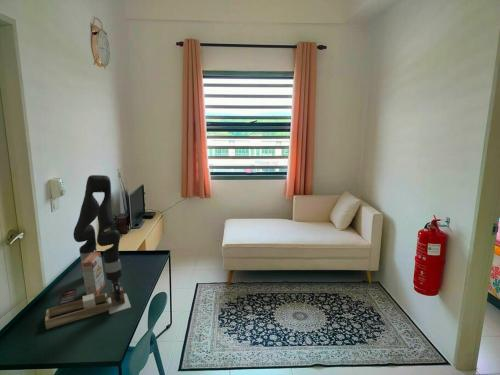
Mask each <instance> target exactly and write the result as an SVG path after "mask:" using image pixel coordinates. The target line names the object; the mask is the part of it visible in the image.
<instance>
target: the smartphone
mask: <svg viewBox="0 0 500 375" xmlns="http://www.w3.org/2000/svg"><path fill="white" fill-rule="evenodd" d="M77 292H78V288H76V289H70V290H66V291H63V292H62V293H61V296H60V299H59V301H58V306H60V305H64V304H67V303H71V302H75V301H76V296H77Z"/></svg>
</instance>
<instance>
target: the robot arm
mask: <svg viewBox="0 0 500 375" xmlns="http://www.w3.org/2000/svg"><path fill="white" fill-rule="evenodd" d="M95 193H103V194H104V195H103V200H102V202H101V203H100V204H99V202H98V200H97V199H96V198H95V196H94V194H95ZM96 218H97V222H98V230H97V236H96V230H95V228H94V226H93V224H92V223H93V222H94V221H95V220H96ZM114 225H115V222H114V215H113V209H112V185H111V179H110V177H109V176H108V175H101V174H97V175H96V174H90V175H89V176H88V177H87V180H86V185H85V192H84V196H83V201H82V204H81V207H80V213H79V216H78V219H77V222H76V225H75V227H74V229H73V234H72V235H73V239H74V241H75V242H77V243H83V242H85V243H84V244H82V245H81V246H80V247H79V256H80V261H81V263H82V262H83V261H84V260H85V259H86V258H87V256H88V255H89V254H90V253H97V252H98V250H97V244H98V246H100V247H107V246H110V245H111V247H109V248H106V249H105V250H104V251H102V254H103V261H104V271H105V272H104V273H105V277H106V280H108V281H110V284H111V289H113V291H114V293H115V298H116V302H120V301H121V298H120V295H121V293H120V287H121V283H120V282H121V281H120V278H122V276H123V269H122V263H121V259H120V253H119V252H120V251H119V247H120V241H121V233H120V231H119V230H118V229H113V230H112V229H111V230H108V229H110V228H112V227H113V226H114ZM96 237H97V238H96ZM116 292H119V293H116Z"/></svg>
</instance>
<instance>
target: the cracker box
mask: <svg viewBox="0 0 500 375" xmlns="http://www.w3.org/2000/svg"><path fill="white" fill-rule="evenodd" d="M102 260H103V259H102V253H101V252H100V251H97V253H90V254H89V255H88V256H87V258H86V259H85V260H84V261H83V262H82V263H81V269H82V270H81V271H82V276H83V277H82V278H83V283H84V289H85V294H86V295H90V294H93V293H94V296H96V295H100V294H101V292H102V290H103V289H104V288H105V286H106V283H105V275H104V266H103V262H102ZM86 295H85V296H86Z"/></svg>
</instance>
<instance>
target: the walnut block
mask: <svg viewBox="0 0 500 375" xmlns="http://www.w3.org/2000/svg"><path fill="white" fill-rule="evenodd" d="M116 293H119V292H116ZM120 293H121V295H120V298H121V301H120V302H116V298H115V293H114V291H113V288H111V289H109V295H110V298H111V302H112V306H116V305H119V304H123V303H125V299H124V294H125V292H124V289H123V286H121V285H120Z"/></svg>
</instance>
